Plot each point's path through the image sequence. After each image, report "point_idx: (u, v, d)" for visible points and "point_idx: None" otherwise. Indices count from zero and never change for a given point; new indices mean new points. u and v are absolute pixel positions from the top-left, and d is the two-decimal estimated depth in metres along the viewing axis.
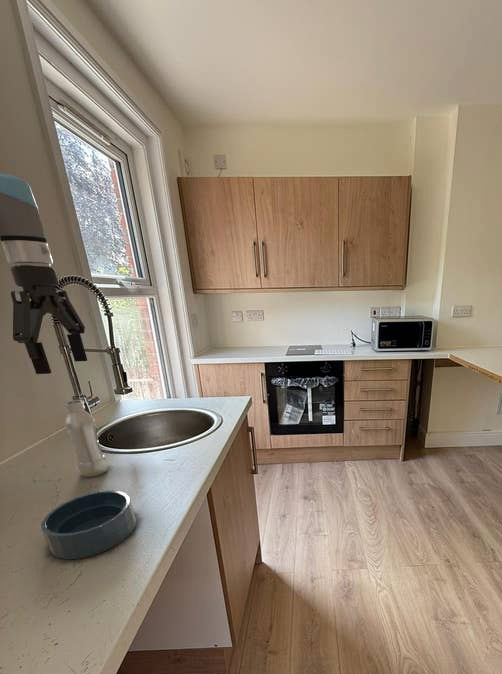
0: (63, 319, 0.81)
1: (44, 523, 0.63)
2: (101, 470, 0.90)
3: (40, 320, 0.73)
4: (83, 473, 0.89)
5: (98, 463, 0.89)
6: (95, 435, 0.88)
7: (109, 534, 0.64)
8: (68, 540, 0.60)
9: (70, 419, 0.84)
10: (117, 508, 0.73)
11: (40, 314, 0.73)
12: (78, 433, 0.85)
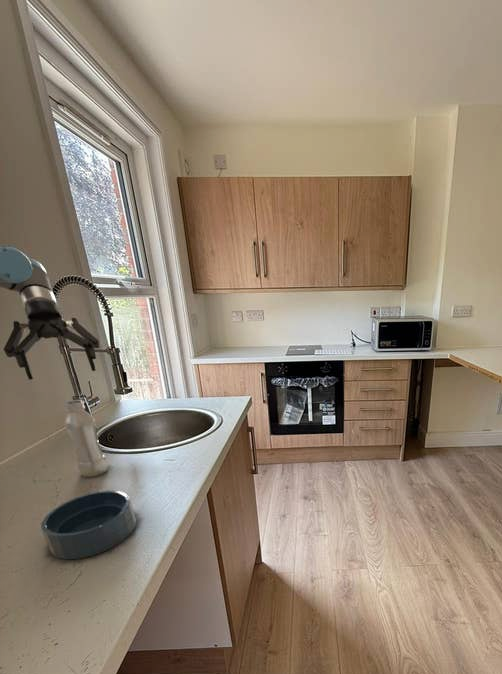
0: (32, 343, 0.90)
1: (44, 523, 0.63)
2: (101, 470, 0.90)
3: None
4: (83, 473, 0.89)
5: (98, 463, 0.89)
6: (95, 435, 0.88)
7: (109, 534, 0.64)
8: (68, 540, 0.60)
9: (70, 419, 0.84)
10: (117, 508, 0.73)
11: None
12: (78, 433, 0.85)
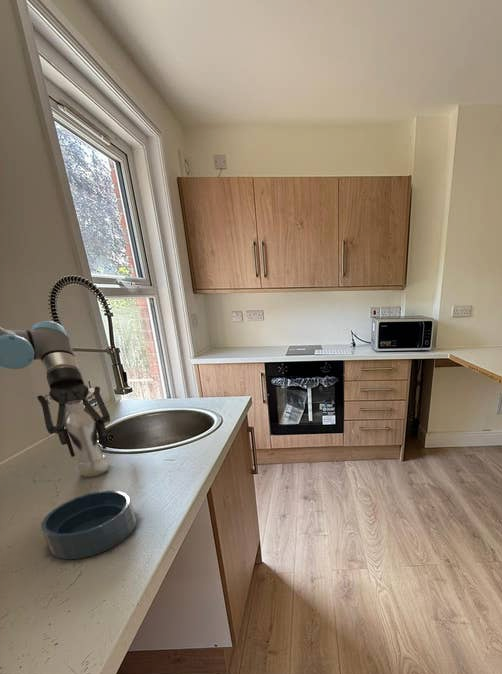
0: (65, 414, 0.88)
1: (44, 523, 0.63)
2: (101, 470, 0.90)
3: None
4: (83, 473, 0.89)
5: (98, 463, 0.89)
6: (95, 435, 0.88)
7: (109, 534, 0.64)
8: (68, 540, 0.60)
9: (70, 419, 0.84)
10: (117, 508, 0.73)
11: None
12: (78, 433, 0.85)
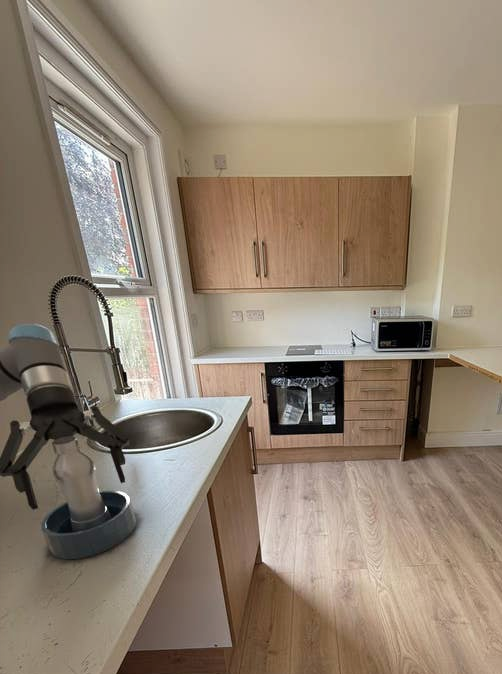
0: (36, 451, 0.63)
1: (44, 523, 0.63)
2: None
3: None
4: None
5: (98, 520, 0.66)
6: (94, 483, 0.65)
7: (109, 534, 0.64)
8: (68, 540, 0.60)
9: (59, 465, 0.60)
10: (117, 508, 0.73)
11: None
12: (71, 483, 0.61)
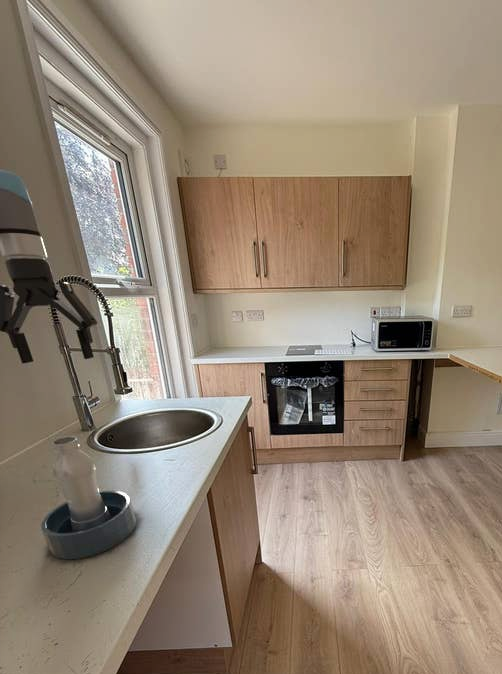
0: (24, 315, 0.77)
1: (44, 523, 0.63)
2: None
3: None
4: None
5: (98, 520, 0.66)
6: (94, 483, 0.65)
7: (109, 534, 0.64)
8: (68, 540, 0.60)
9: (59, 465, 0.60)
10: (117, 508, 0.73)
11: None
12: (71, 483, 0.61)
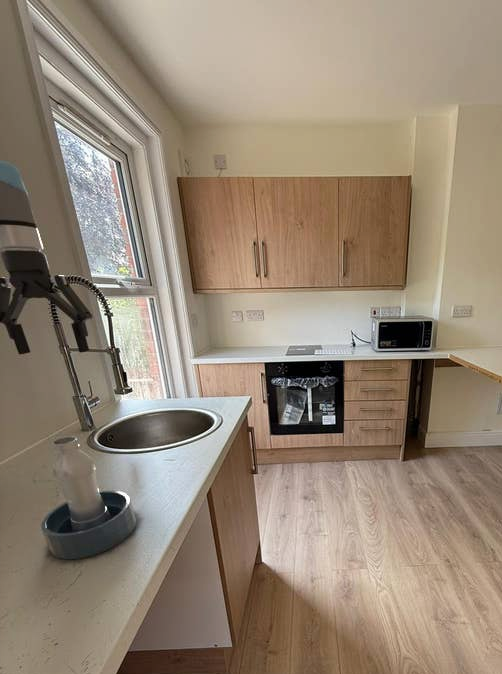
0: (20, 307, 0.78)
1: (44, 523, 0.63)
2: None
3: None
4: None
5: (98, 520, 0.66)
6: (94, 483, 0.65)
7: (109, 534, 0.64)
8: (68, 540, 0.60)
9: (59, 465, 0.60)
10: (117, 508, 0.73)
11: None
12: (71, 483, 0.61)
